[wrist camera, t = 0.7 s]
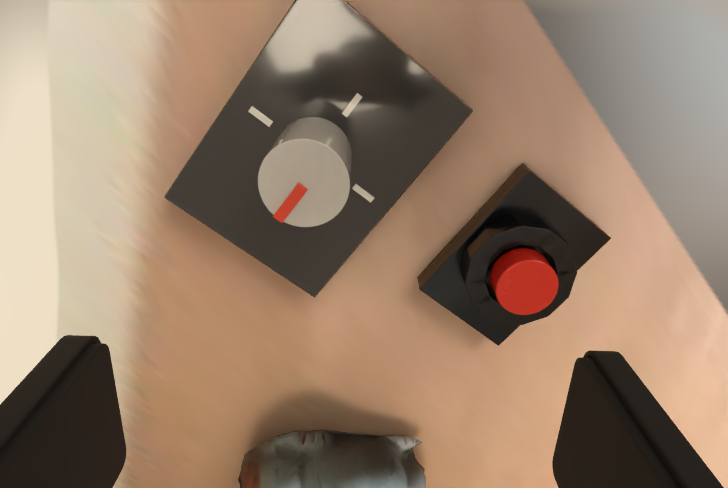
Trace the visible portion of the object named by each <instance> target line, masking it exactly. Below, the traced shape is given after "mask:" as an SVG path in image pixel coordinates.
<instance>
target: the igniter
mask: <svg viewBox="0 0 728 488" xmlns="http://www.w3.org/2000/svg"><path fill="white" fill-rule="evenodd" d="M610 239H611V238H610V237H609V236H608V235H607V234H606V233H605V232H604V231H603V230H602V229H601V228H600V227H598V226H597V225H596V224H595V223H594V222H593V221H591V220H590V219H589V218H588V217H587V216H585V215H584V214H583V213H582V212H581V211H579V210H578V209H577V208H576V207H575V206H574V205H572V204H571V203H570V202H569V201H568V200H566V199H565V198H564V197H563V196H562V195H560V194H559V193H558V192H557V191H556V190H555V189H553V188H552V187H551V186H550V185H549V184H547V183H546V182H545V181H544V180H543V179H541V178H540V177H539V176H538V175H537V174H535V173H534V172H533V171H532V170H531V169H530V168H528V167H527V166H526V165H525V164H522V165H521V166H520V167H519V168H518V169H517V170H516V171H515V172H514V173H513V174H512V175H511V176H510V178H509V179H508V180H507V181H506V182H505V183H504V184H503V185H502V186H501V187H500V188H499V189H498V191H497V192H496V193H495V194H494V195H493V196H492V197H491V198H490V199H489V200H488V201H487V203H486V204H485V205H484V206H483V207H482V208H481V209H480V210H479V211H478V212H477V213H476V214H475V216H474V217H473V218H472V219H471V220H470V221H469V222H468V223H467V224H466V225H465V226H464V227H463V229H462V230H461V231H460V232H459V233H458V234H457V235H456V236H455V237H454V238H453V239H452V240H451V242H450V243H449V244H448V245H447V246H446V247H445V248H444V249H443V250H442V251H441V252H440V254H439V255H438V256H437V257H436V258H435V259H434V260H433V261H432V262H431V263H430V264H429V265H428V267H427V268H426V269H425V270H424V271H423V272H422V273H421V274H420V275H419V276H418V283H419V288H420V290H421V291H423V292H424V293H425V294H427V295H428V296H430V297H431V298H432V299H434V300H435V301H437V302H438V303H439V304H441V305H442V306H444V307H445V308H446V309H448V310H449V311H451V312H452V313H453V314H455V315H456V316H458V317H459V318H460V319H462V320H463V321H465V322H466V323H467V324H469V325H470V326H472V327H473V328H474V329H476V330H477V331H479V332H480V333H481V334H483V335H484V336H486V337H487V338H488V339H490V340H491V341H493V342H494V343H495V344H497V345H500V344H501V343H502V342H503V341H504V340H505V339H506V338H507V337H508V336H509V335H510V334H511V333H512V332H513V331H514V330H515V329H517V328H518V327H519V326H520V325H523V324H526V323H529V322H532V321H535V320H538V319H541V318H544V317H547V316H549V315H550V314H551V313H552V312H553V311H554V310H555V309H556V308H558V307H559V306H560V305H561V304H562V303H563V302H564V301H565V300H566V299H567V298H568V297H569V295H570V292H571V289H572V286H573V283H574V280H575V277H576V274H577V270H578V269H579V268H580V267H581V266H583V265H584V264H585V263H586V262H587V261H588V260H589V259H590V258H591V257H592V256H593V255H594V254H595V253H596V252H597V251H598V250H599V249H600V248H601V247H602V246H603V245H605V244H606V243H607V242H608V241H609V240H610ZM519 248H528V249H532V250H535V251H537V252H539V253H540V254H542V255H543V256H544V257H545V258H546V260H547V261H548V263H549V264H550V265H551V267H552V268H553V269H554V271H555V273H556V274H557V277H558V284H559V285H558V291H557V294H556V296H555V298H554V299H553V301H552V302H551V303H550V304H549V305H548V306H547V307H546V308H544V309H543V310H541V311H539V312H537V313H534V314H529V315H518V314H514V313H511V312H509V311H507V310H506V309H504V308H503V307H502V306H501V305H500V303H499V302H498V300H497V297H496V295H495V293H494V291H493V289H492V286H491V283H490V272H491V269H492V267H493V265H494V263H495V262H496V261H497V259H498V258H499V257H501V256H502V255H503V254H505V253H506V252H508V251H511V250H514V249H519Z"/></svg>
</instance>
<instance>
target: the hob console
mask: <svg viewBox="0 0 728 488" xmlns="http://www.w3.org/2000/svg"><path fill="white" fill-rule="evenodd" d="M472 112H473V109H472V108H471V107H469V106H468V105H467V104H466V103H465V102H464V101H463V100H461V99H460V98H459V97H458V96H457V95H456V94H454V93H453V92H452V91H451V90H450V89H448V88H447V87H446V86H445V85H444V84H443V83H441V82H440V81H439V80H438V79H437V78H436V77H434V76H433V75H432V74H431V73H430V72H428V71H427V70H426V69H425V68H424V67H423V66H421V65H420V64H419V63H418V62H417V61H415V60H414V59H413V58H412V57H411V56H410V55H408V54H407V53H406V52H405V51H404V50H403V49H401V48H400V47H399V46H398V45H397V44H395V43H394V42H393V41H392V40H391V39H390V38H388V37H387V36H386V35H385V34H384V33H382V32H381V31H380V30H379V29H378V28H377V27H375V26H374V25H373V24H372V23H371V22H370V21H368V20H367V19H366V18H365V17H364V16H362V15H361V14H360V13H359V12H358V11H357V10H355V9H354V8H353V7H352V6H351V5H349V4H348V3H347V2H346V1H345V0H295V1H294V3H293V4H292V6H291V7H290V9H289V10H288V12H287V13H286V15H285V16H284V18H283V19H282V21H281V22H280V24H279V25H278V27H277V28H276V30H275V31H274V33H273V34H272V36H271V37H270V39H269V40H268V42H267V43H266V45H265V46H264V48H263V49H262V51H261V52H260V54H259V55H258V57H257V58H256V60H255V61H254V63H253V64H252V66H251V67H250V69H249V70H248V72H247V73H246V75H245V76H244V78H243V79H242V81H241V82H240V84H239V85H238V87H237V88H236V90H235V91H234V93H233V94H232V96H231V97H230V99H229V100H228V102H227V103H226V105H225V106H224V108H223V109H222V111H221V112H220V114H219V115H218V117H217V118H216V120H215V121H214V123H213V124H212V126H211V127H210V129H209V130H208V132H207V133H206V135H205V136H204V138H203V139H202V141H201V142H200V144H199V145H198V147H197V148H196V150H195V151H194V153H193V154H192V156H191V157H190V159H189V160H188V162H187V163H186V165H185V166H184V168H183V169H182V171H181V172H180V174H179V175H178V177H177V178H176V180H175V181H174V183H173V184H172V186H171V187H170V189H169V190H168V192H167V193H166V195H165V198H166V199H167V200H169V201H170V202H172V203H173V204H175V205H176V206H178V207H179V208H181V209H182V210H184V211H185V212H187V213H188V214H190V215H191V216H193V217H194V218H196V219H197V220H199V221H200V222H202V223H203V224H205V225H206V226H208V227H209V228H211V229H212V230H214V231H215V232H217V233H218V234H220V235H221V236H223V237H224V238H226V239H227V240H229V241H230V242H232V243H233V244H235V245H236V246H238V247H239V248H241V249H242V250H244V251H245V252H247V253H248V254H250V255H251V256H253V257H254V258H256V259H257V260H259V261H260V262H262V263H263V264H265V265H266V266H268V267H269V268H271V269H272V270H274V271H275V272H277V273H278V274H280V275H281V276H283V277H284V278H286V279H287V280H289V281H290V282H292V283H293V284H295V285H296V286H298V287H299V288H301V289H302V290H304V291H305V292H307V293H308V294H310V295H311V296H313V297H316V295H317V294H318V293H319V292H320V291H321V290H322V288H323V287H324V286H325V285H326V284H327V282H328V281H329V280H330V279H331V278H332V277H333V275H334V274H335V273H336V272H337V271H338V270H339V268H340V267H341V266H342V265H343V264H344V262H345V261H346V260H347V259H348V258H349V257H350V255H351V254H352V253H353V252H354V251H355V250H356V248H357V247H358V246H359V245H360V244H361V242H362V241H363V240H364V239H365V238H366V237H367V235H368V234H369V233H370V232H371V231H372V230H373V228H374V227H375V226H376V225H377V224H378V222H379V221H380V220H381V219H382V218H383V217H384V215H385V214H386V213H387V212H388V211H389V210H390V208H391V207H392V206H393V205H394V204H395V202H396V201H397V200H398V199H399V198H400V197H401V195H402V194H403V193H404V192H405V191H406V190H407V188H408V187H409V186H410V185H411V184H412V183H413V181H414V180H415V179H416V178H417V177H418V175H419V174H420V173H421V172H422V171H423V170H424V168H425V167H426V166H427V165H428V164H429V163H430V161H431V160H432V159H433V158H434V157H435V155H436V154H437V153H438V152H439V151H440V150H441V148H442V147H443V146H444V145H445V144H446V143H447V141H448V140H449V139H450V138H451V137H452V135H453V134H454V133H455V132H456V131H457V130H458V128H459V127H460V126H461V125H462V124H463V123H464V121H465V120H466V119H467V118H468V117H469V115H470V114H471V113H472ZM306 117H319V118H323V119H326V120H328V121H330V122H332V123H334V124H335V125H337V126H338V127H339V128H340V129H341V130H342V131H343V132H344V133H345V135H346V136H347V138H348V140H349V142H350V145H351V150H352V166H351V179H350V191H349V196H348V199H347V202H346V203H345V205H344V207H343V208H342V210H341V211H340V212H339V213H338V214H337V215H336V216H335V217H334V218H333V219H331V220H330V221H328V222H326V223H324V224H321V225H318V226H313V227H298V226H293V225H290V224H288V223H285V222H283V223H281V222H280V221H278V220H277V219H275V218H274V217H273V214H272V213H271V212H270V211H269V210H268V208H267V207H266V206H265V204H264V202H263V201H262V198H261V196H260V193H259V189H258V173H259V169H260V166H261V164H262V161H263V160H264V158H265V157H266V155H267V154H268V152H269V151H270V149H271V148H272V146H273V144H274V143H275V141H276V140H277V138H278V137H279V135H280V134H281V132H282V131H283V130H284V129H285V128H286V127H287V126H288V125H289V124H291V123H292V122H294V121H296V120H298V119H301V118H306Z"/></svg>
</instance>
